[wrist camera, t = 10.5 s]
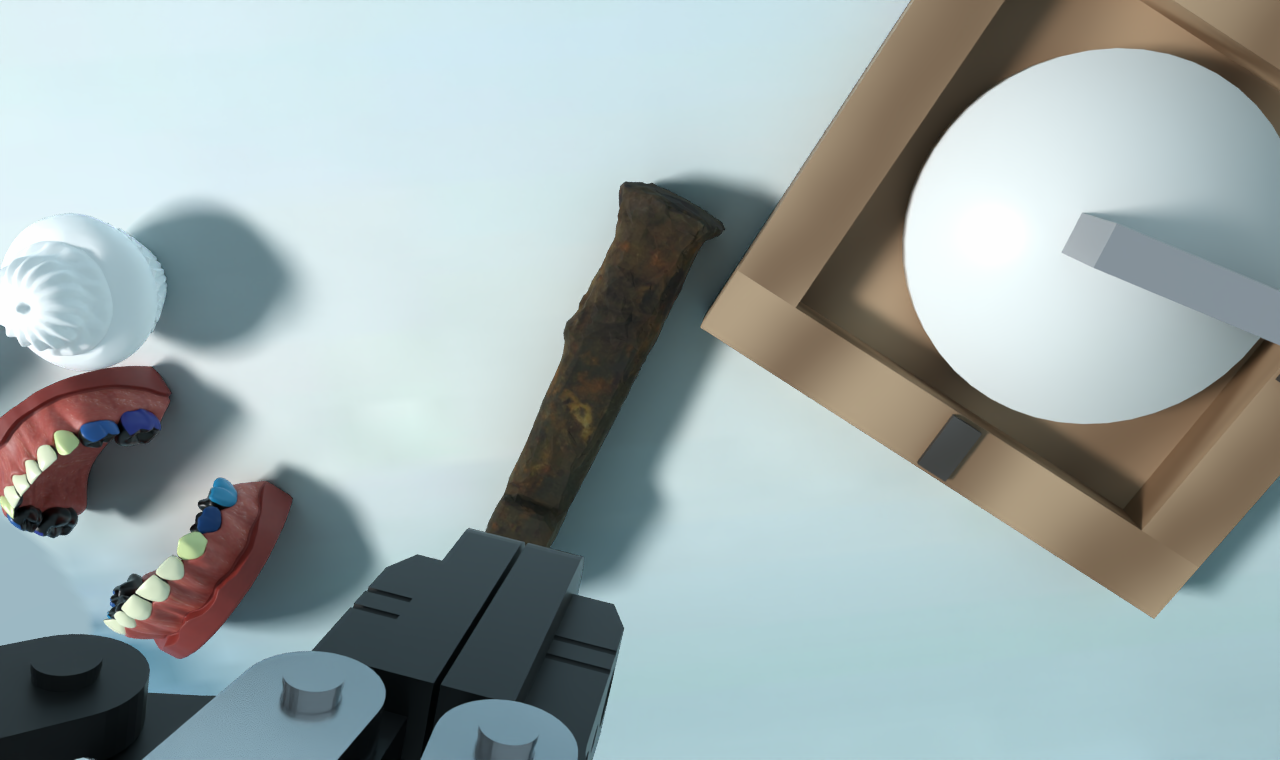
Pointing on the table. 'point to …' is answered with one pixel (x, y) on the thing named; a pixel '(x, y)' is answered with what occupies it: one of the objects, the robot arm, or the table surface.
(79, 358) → the white fluted cup
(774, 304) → the wooden frame
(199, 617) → the teeth model
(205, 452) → the table surface
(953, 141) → the dial
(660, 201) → the hand tool
